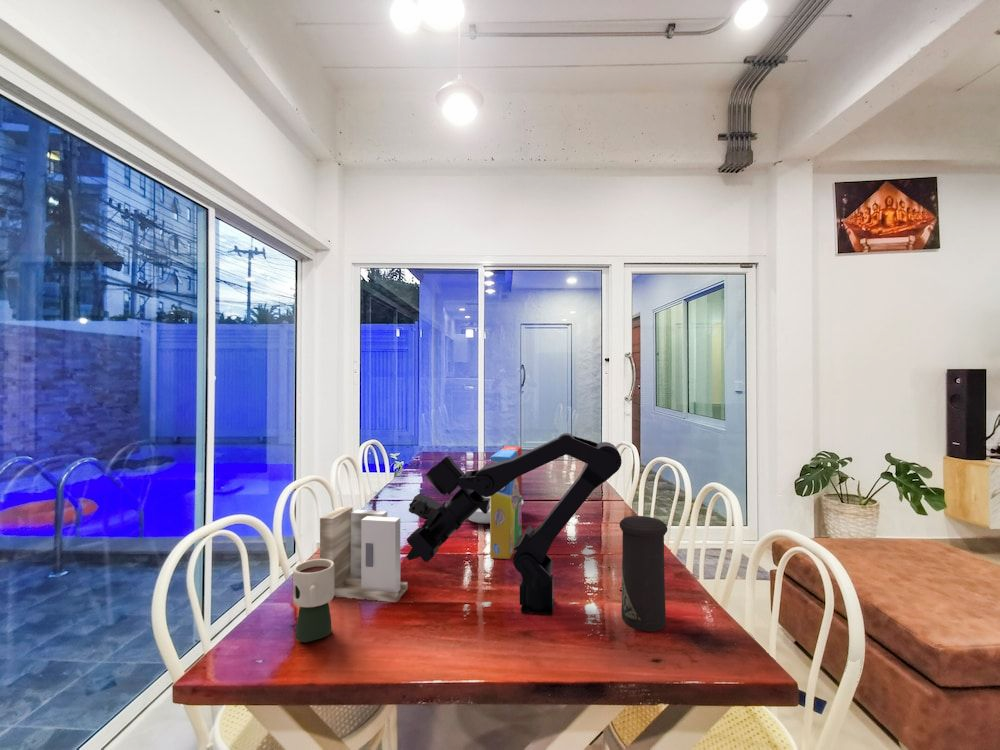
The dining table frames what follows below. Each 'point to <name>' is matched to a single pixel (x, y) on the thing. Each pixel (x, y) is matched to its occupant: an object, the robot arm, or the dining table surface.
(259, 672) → the dining table surface
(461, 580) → the dining table surface
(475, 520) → the soup bowl
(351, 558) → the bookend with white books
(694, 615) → the dining table surface
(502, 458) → the game box
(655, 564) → the container
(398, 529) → the door
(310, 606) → the character mug
